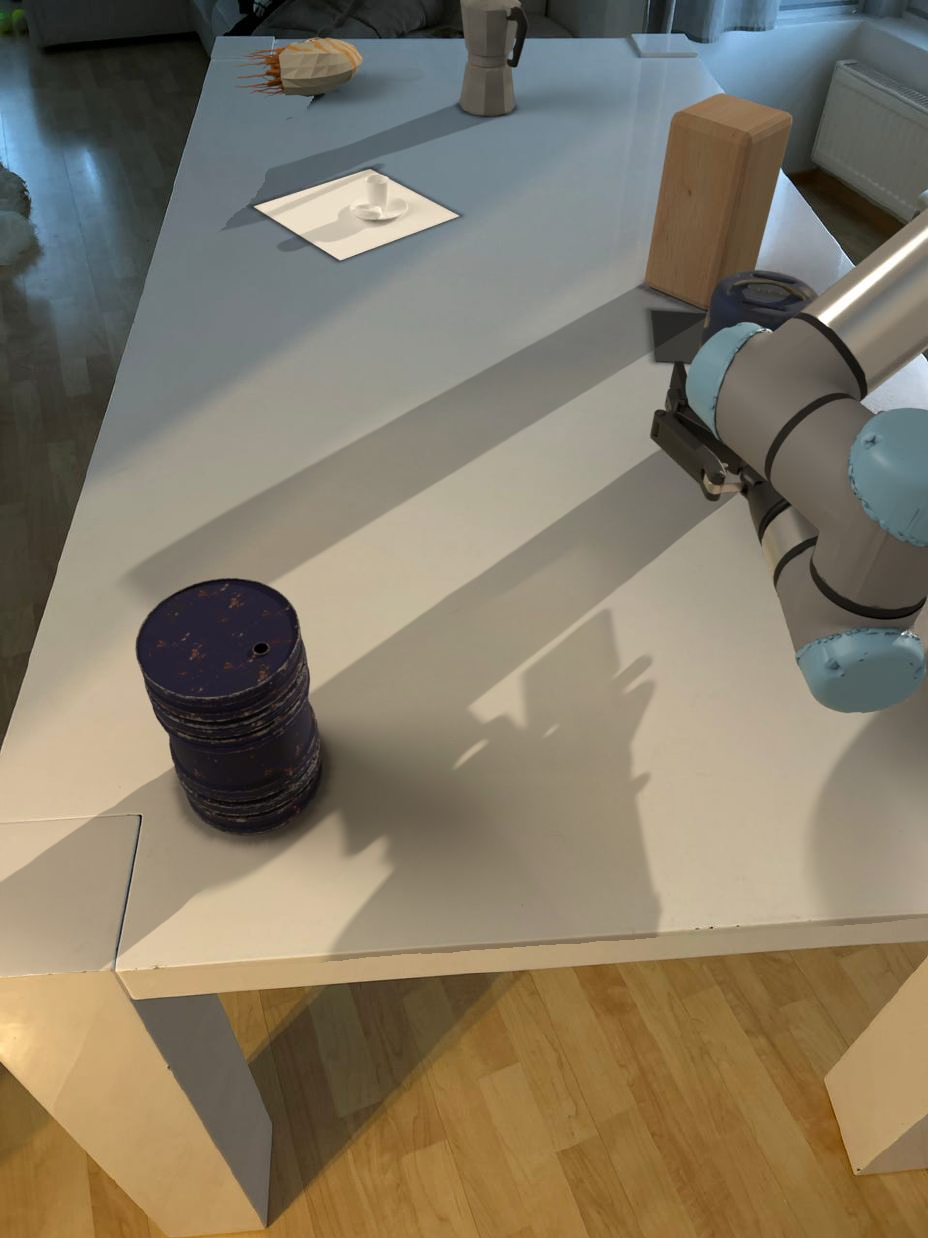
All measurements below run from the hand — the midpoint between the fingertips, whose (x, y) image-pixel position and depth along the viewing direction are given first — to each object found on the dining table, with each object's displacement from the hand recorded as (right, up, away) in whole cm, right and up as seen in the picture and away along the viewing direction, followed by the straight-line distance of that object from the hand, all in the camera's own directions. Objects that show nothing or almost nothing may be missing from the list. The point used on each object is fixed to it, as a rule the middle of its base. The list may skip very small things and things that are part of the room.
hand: (750, 374), depth 86 cm
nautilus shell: (-54, +67, +73) cm, 113 cm away
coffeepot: (-22, +61, +69) cm, 95 cm away
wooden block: (+3, +18, +30) cm, 35 cm away
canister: (0, -6, +8) cm, 10 cm away
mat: (+2, +10, +22) cm, 24 cm away
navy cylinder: (-41, -34, -19) cm, 56 cm away
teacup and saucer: (-41, +33, +43) cm, 68 cm away
